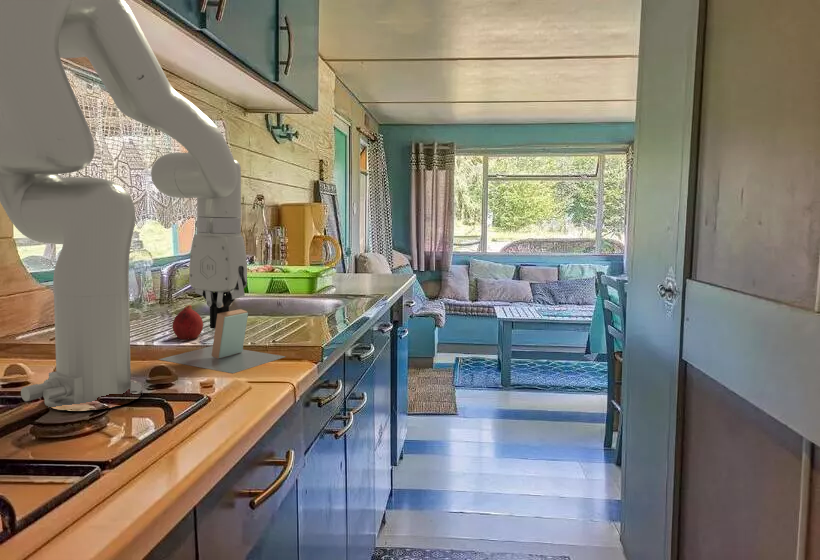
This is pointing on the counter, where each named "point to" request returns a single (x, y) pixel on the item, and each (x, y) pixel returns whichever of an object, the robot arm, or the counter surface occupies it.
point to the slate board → (222, 360)
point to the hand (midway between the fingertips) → (219, 327)
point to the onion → (187, 324)
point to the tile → (229, 333)
